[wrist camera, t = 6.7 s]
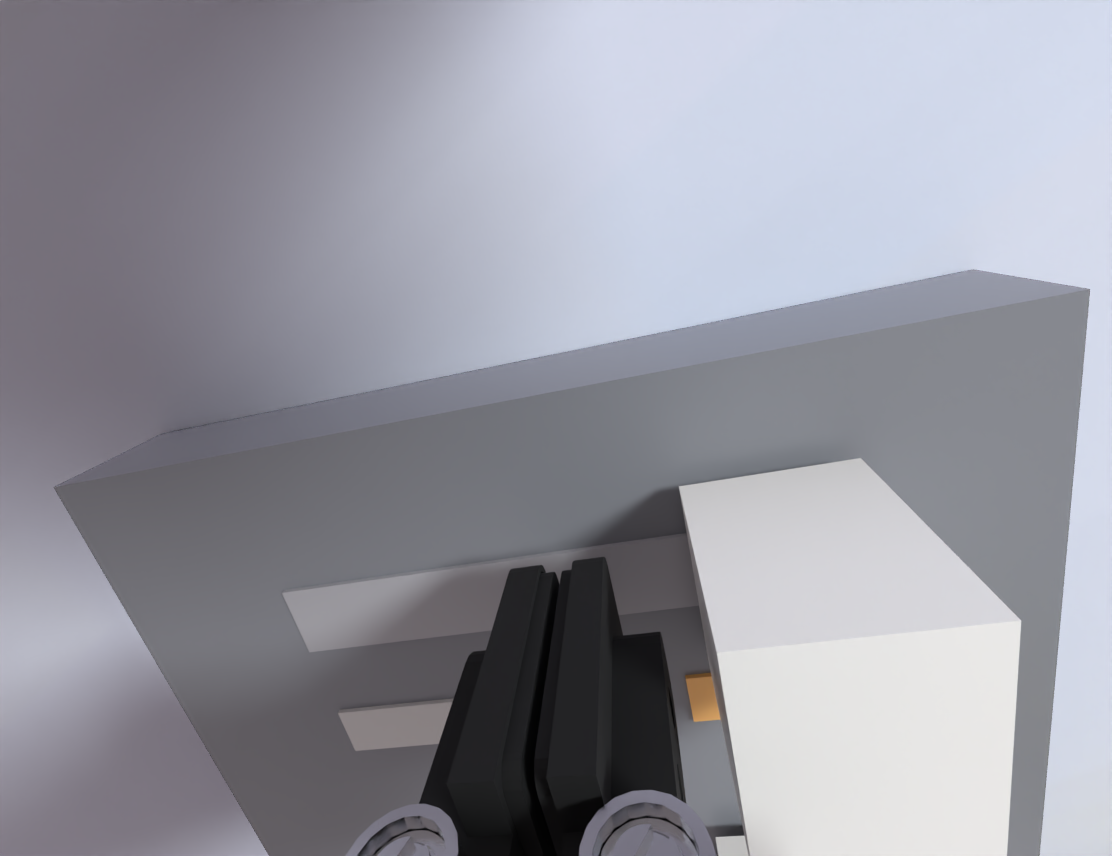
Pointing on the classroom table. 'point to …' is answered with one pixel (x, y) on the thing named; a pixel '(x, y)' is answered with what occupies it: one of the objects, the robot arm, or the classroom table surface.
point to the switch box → (571, 526)
